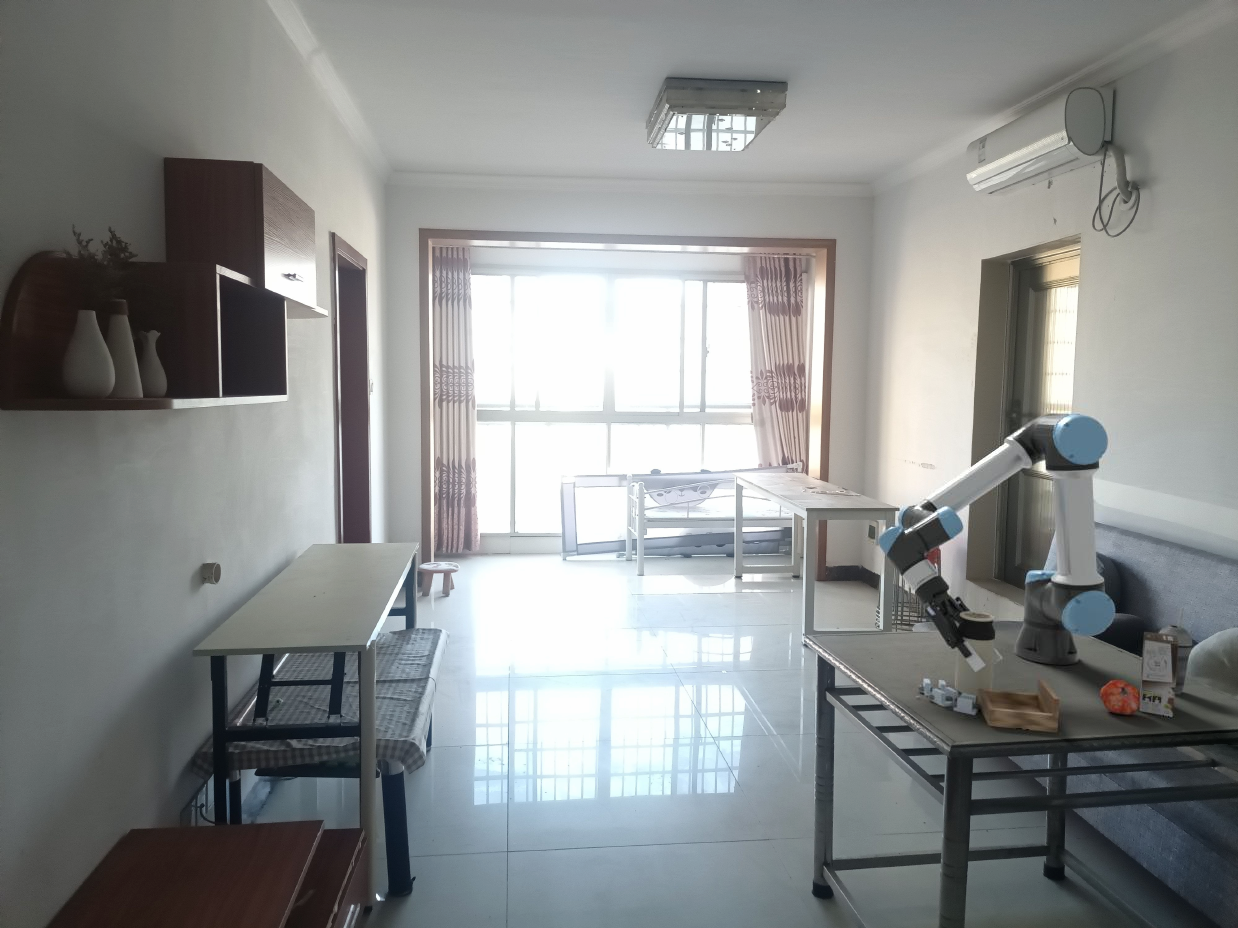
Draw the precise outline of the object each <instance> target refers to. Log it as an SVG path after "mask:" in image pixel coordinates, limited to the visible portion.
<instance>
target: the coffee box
mask: <svg viewBox="0 0 1238 928" xmlns="http://www.w3.org/2000/svg"><path fill="white" fill-rule="evenodd" d="M1178 646H1179V644H1178V640H1177V636H1176V635H1169V634H1161V633H1159V632H1151V631H1144V632H1143V643H1142V653H1141V654H1142V655H1141V671H1140V686H1139V687H1140V689H1139V694H1140V698H1139V712H1143V713H1150V714H1155V715H1160V716H1163V715H1164V716H1165V717H1168V716H1169V718H1170V717H1171V718H1172V717H1173V716H1174V707H1175V706H1174V705H1175V697H1176V694H1175V685H1176V672H1177V659H1178Z"/></svg>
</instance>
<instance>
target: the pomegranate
mask: <svg viewBox="0 0 1238 928" xmlns="http://www.w3.org/2000/svg"><path fill="white" fill-rule="evenodd" d="M1100 689H1101V690H1100V699H1101V700H1102V702H1103V703H1102V704H1103V706H1104V708H1105V709H1107V711H1109V712H1111V713H1113V714H1117V715H1126V716H1130V715H1133V714H1135V713H1136V712H1137V711H1138V709H1140V691H1139V689H1137V687H1136V686H1134V685H1131V684H1129V683H1128V682H1126V681H1125V680H1121V679H1113V680H1110V681H1109V682H1107V683H1106V685H1103V686H1102V687H1101V688H1100Z"/></svg>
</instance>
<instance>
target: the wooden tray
mask: <svg viewBox="0 0 1238 928" xmlns="http://www.w3.org/2000/svg"><path fill="white" fill-rule="evenodd" d="M976 704H980V711H981V714H982V715H983V717H984V719H985V721H986V723H987V725H988V727H996V728H1008V729H1016V728H1022V729H1021V730H1026V729H1029V730H1028V731H1038V732H1046V733H1047V732H1048V733H1056V734H1057V733H1058V730H1059V729H1058V728H1059V716H1060V715H1059V711H1060V698H1059V697H1058V695H1057V694H1056V693H1055V692H1054V691H1053V689H1051V687H1050V686H1049V684H1048V683H1047V682H1046V680H1044V678H1037V687H1036V693H1029V692H1019V691H1007V690H998V689H997V690H996V689H992V690H988V689H978V697H977V702H976Z"/></svg>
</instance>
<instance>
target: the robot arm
mask: <svg viewBox="0 0 1238 928" xmlns="http://www.w3.org/2000/svg"><path fill="white" fill-rule="evenodd" d="M1108 445H1109V439H1108V434H1107V430H1106V429H1105V427H1104V426H1103V425H1102V423H1100V422H1099V421H1098V420H1097V419H1096V418H1093V417H1091V416H1089V415H1083V414H1081V413H1046V414H1043V415H1040V416H1038V417H1036V418H1034V419H1032V420H1030V421H1028V422H1027V423H1025V424H1024V425H1022V427H1020V428H1018V429H1017V430H1015V431H1014V432H1013V433H1011V434H1010V435H1009V436H1007V437H1006V438H1005V439H1004V440H1003V444H1002V445H1001V446H999V447H998V448H997V449H995V450H994V451H992V452H991V453H989V454H988V455H987V456H985V457H983V458H982V459H980V460H979V461H978V462H977V463H975V464H974V465H972V466H971V467H969V468H967V469H966V470H965V471H964V472H962V473H961V474H959V475H958V476H957V477H955V478H953V479H952V480H950V481H949V482H947V483H946V484H945V485H943V486H942V487H940V488H939V489H937V490H936V491H935V492H933V493H932V494H931V495H929V496H928V497H926V498H924V499H923V500H921V501H920V502H918V503H917V504H916V505H914V504H913V505H907V506H905V507H903V508H902V509H901V510H900V512H899V513H898V516H897V523H898V524H895V525H894V526H891V527H889V528H887V529H886V530H885V531H884V532H882V533H881V535H880V536H879V537H878V539H877V544H878V546H879V548H880V549H881V551H882V552H883V554H884V555H885V557H886V558H887V559H888V560H889V562H890V563H891V564H892V566H893V567H894V568H895V569H896V571H897V572H898V574H899V575H900V576H901V578H903V580H904V582H905V584H906V585H907V586H908V587H909V588H910V590H912V591H914V595H915V596H916V597H917V599H918V600H919V601H920V603H921V604H922V605H924V606H925V605H929V606H928V607H926V608H925V609H924V612H925V614H927V616H928V617H929V618H930V619H931V621H932V623H933V624H934V626H935V628H937V630H938V631H939V634H940V635H941V636H942V639H944V642H945V643H946V645H947V646H948V647H950V648H951V649H952V650H954V649H957V648H958V650H959V651H960V652H961V654H962V655H963V656H964V658H965V659H966V660H967V662H968V663H969V664H970V666H971V667H972V668H973V670H974V671H975V672H977V671H978V670H980V669H981V668H983V667H984V666H986V665H985V664H984V662H983V661H982V660H981V658H980V657H979V656H978V655H977V653H976V652H975V651H974V649H973V648H972V647H971V645H970V644H969V643H968V642H967V641H965V642H964V640H963V638H962V635H961V633H960V631H959V629H958V625H959V624H960V623H961V616H960V613H961V612H966V611H971V609H969V608H968V607H967V605H966V604H965V603H964V601H963V599H962V598H961V597H960V596H956V597H955V598H953V596H951V595H950V594H949V593H948V591H949V590H950V585H949V584H948V583H947V581H946V580H945V579H944V577H943V576H942V575H939V571H938V570H937V569H936V567H935V566H934V565H933V564H932V563H931V560H929V558H928V557H927V556H926V555H928V554H929V553H930V552H932V551H934V550H935V549H937V548H939V547H941V546H942V545H944V544H946V543H947V542H949V541H951V540H953V539H954V538H955V537H957V536H958V535H960V534H961V533H962V532H963V531H964V524H963V521H962V519H961V518H960V516H959V515H958V513H959V512H960V511H962V510H963V509H965V508H966V507H968V506H969V505H970V504H972V503H973V502H975V501H976V500H978V499H979V498H981V497H982V496H983V495H985V494H987V493H988V492H989V491H991V490H993V489H994V488H995V487H997V486H999V485H1000V484H1001V483H1003V482H1004V481H1005V480H1007V479H1009V478H1010V477H1012V476H1013V475H1015V474H1016V473H1017V472H1019V471H1021V470H1023V469H1031V468H1032V467H1034V466H1035V465H1037V464H1038V463H1040V462H1045V463H1044V464H1045V471H1046V472H1047V473H1049V475H1050V476H1052V483H1053V484H1052V487H1053V503H1054V504H1053V505H1054V506H1053V508H1054V509H1053V510H1054V528H1055V529H1054V530H1055V544H1056V545H1055V548H1056V549H1055V550H1056V570H1047V569H1045V570H1044V569H1043V570H1041V569H1040V570H1039V569H1038V570H1036V569H1035V570H1029V571H1028V572H1027V574H1026V578H1025V582H1024V586H1025V587H1024V602H1023V603H1024V607H1023V623H1022V626H1021V629H1020V632H1019V634H1018V636H1017V638H1016V641H1015V644H1014V654H1015V655H1017V656H1018V657H1020V658H1022V659H1025V660H1027V661H1028V660H1029V661H1030V662H1031V661H1032V662H1036V663H1041V664H1048V665H1059V666H1060V665H1061V666H1062V665H1063V666H1064V665H1065V666H1067V665H1074V664H1076V663H1078V662H1079V650H1078V649H1079V648H1078V646H1077V642H1076V638H1075V635H1074V634H1076V635H1080V636H1083V637H1093V636H1097V635H1100V634H1102V633H1103V632H1105V631H1106V630H1107V628H1109V627H1110V626H1111V624H1112V623H1113V621H1114V619H1115V615H1116V607H1115V606H1116V605H1115V603H1114V602H1113V601H1114V600H1112V598H1111V597H1110V596H1109V595H1108V594H1107V593H1106V592H1105V578H1104V576H1102V575H1100V574H1099V572H1098V571H1097V569H1098V568H1097V551H1096V550H1097V549H1096V547H1097V546H1096V528H1095V527H1096V526H1095V525H1096V524H1095V507H1094V506H1095V505H1094V503H1095V502H1094V486H1093V485H1094V483H1093V479H1094V478H1093V476H1094V475H1095V473H1096V472H1098V471H1099V469H1100V459H1102V457H1103V455H1104V454H1105V453H1106V452H1107V449H1108ZM956 622H957V624H958V625H957V624H956ZM963 642H964V643H963ZM1002 659H1003V656H1002V655H1001V654H1000V653H999V651H998V650H997V649H996V647H995V646H994V664H993V665H995V664H997V662H999V661H1001V660H1002Z"/></svg>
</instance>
